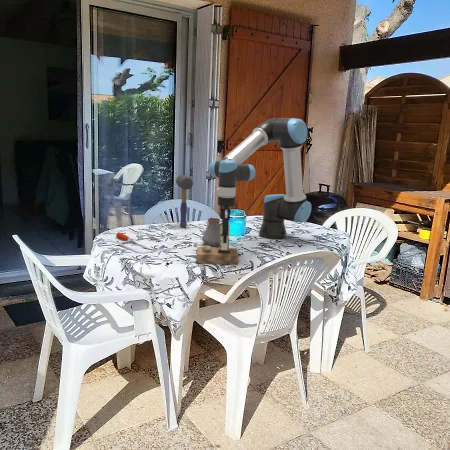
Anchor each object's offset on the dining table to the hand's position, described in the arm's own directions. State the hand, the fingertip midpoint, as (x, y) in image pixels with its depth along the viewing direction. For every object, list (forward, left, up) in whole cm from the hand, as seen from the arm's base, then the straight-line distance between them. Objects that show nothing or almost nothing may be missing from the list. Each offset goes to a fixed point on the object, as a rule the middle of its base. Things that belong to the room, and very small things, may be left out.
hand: (224, 248), depth 205 cm
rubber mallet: (+22, -61, -6) cm, 65 cm away
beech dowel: (0, 0, 0) cm, 0 cm away
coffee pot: (+3, -22, -6) cm, 23 cm away
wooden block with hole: (+3, 0, -6) cm, 6 cm away
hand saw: (+45, -19, -6) cm, 49 cm away
